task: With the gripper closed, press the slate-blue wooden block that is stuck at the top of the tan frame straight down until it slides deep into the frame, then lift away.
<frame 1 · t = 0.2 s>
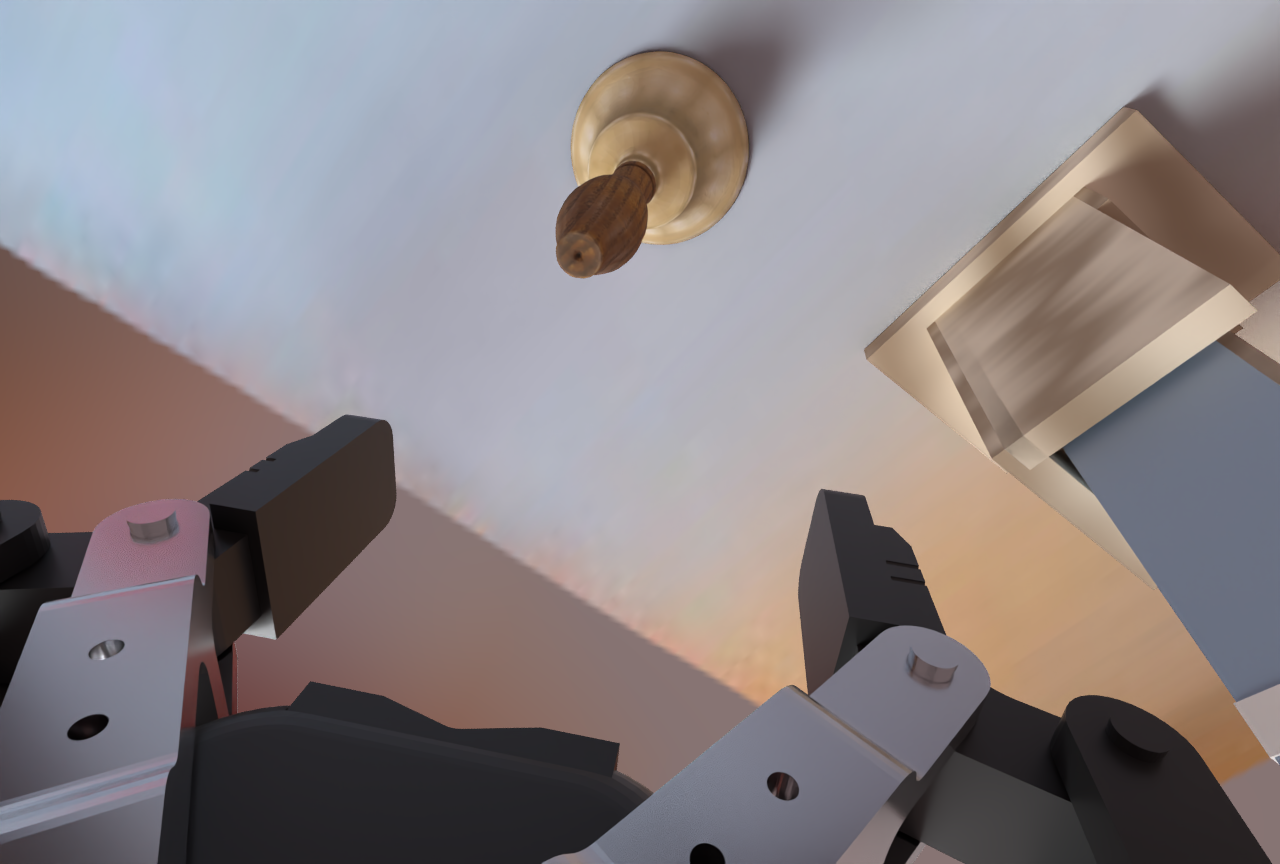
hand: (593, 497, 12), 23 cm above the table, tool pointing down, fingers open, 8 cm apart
hand bell: (659, 153, 31), on the table
tan frame: (1053, 309, 31), on the table
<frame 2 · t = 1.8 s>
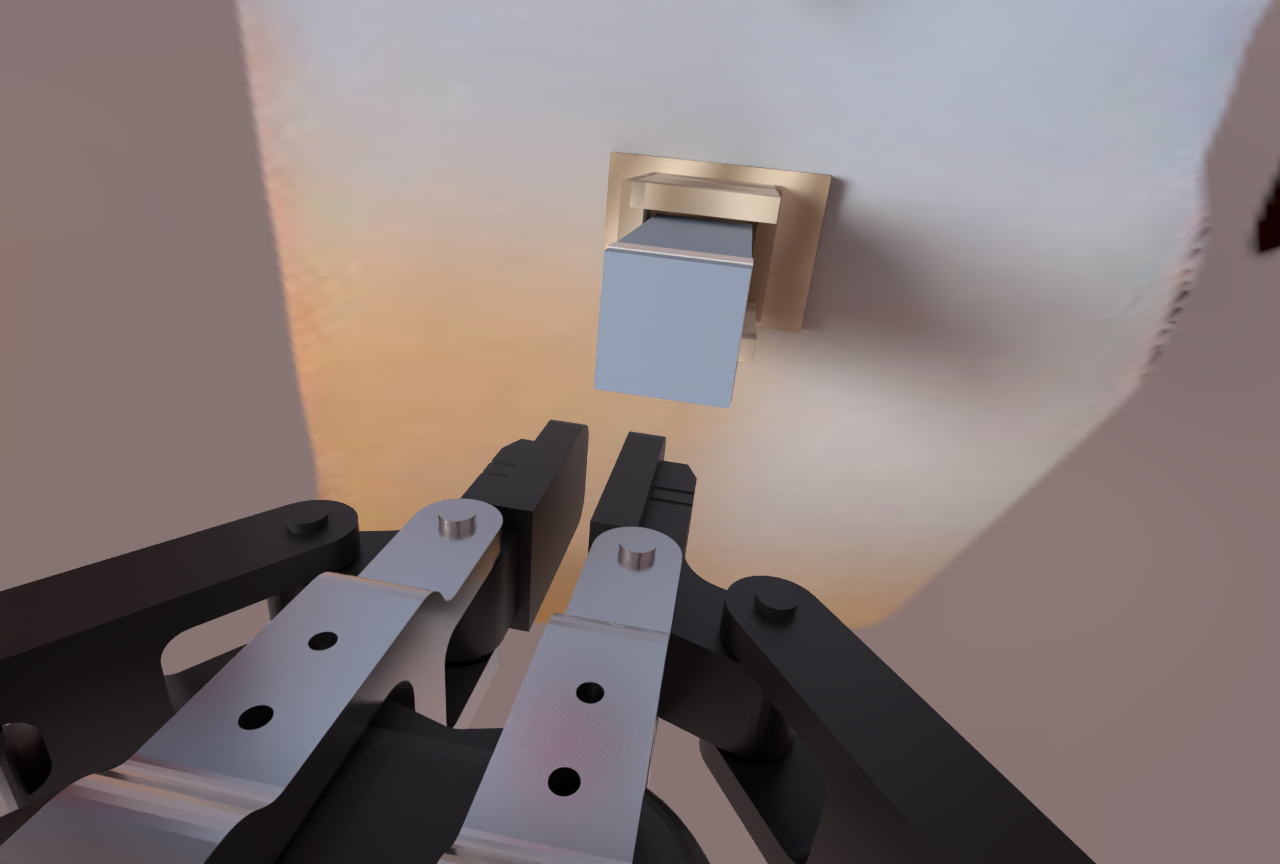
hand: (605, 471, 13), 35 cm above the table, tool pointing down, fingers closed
jammed block: (686, 292, 30), point 17 cm above the table, slide at 0.0 cm
tan frame: (709, 242, 45), on the table
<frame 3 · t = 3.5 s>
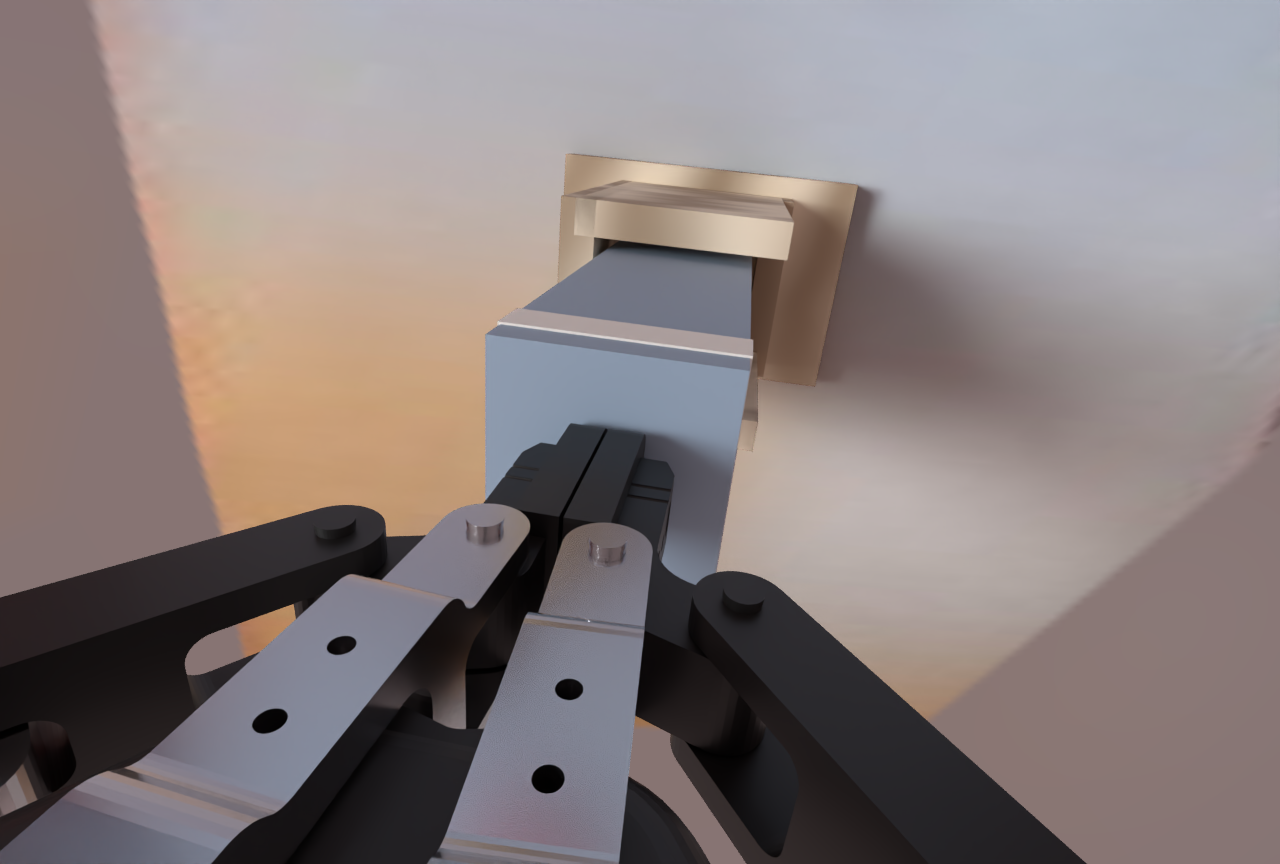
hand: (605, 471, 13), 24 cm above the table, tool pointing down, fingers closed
jammed block: (653, 366, 20), point 17 cm above the table, slide at 0.3 cm, touching gripper
tan frame: (696, 270, 35), on the table
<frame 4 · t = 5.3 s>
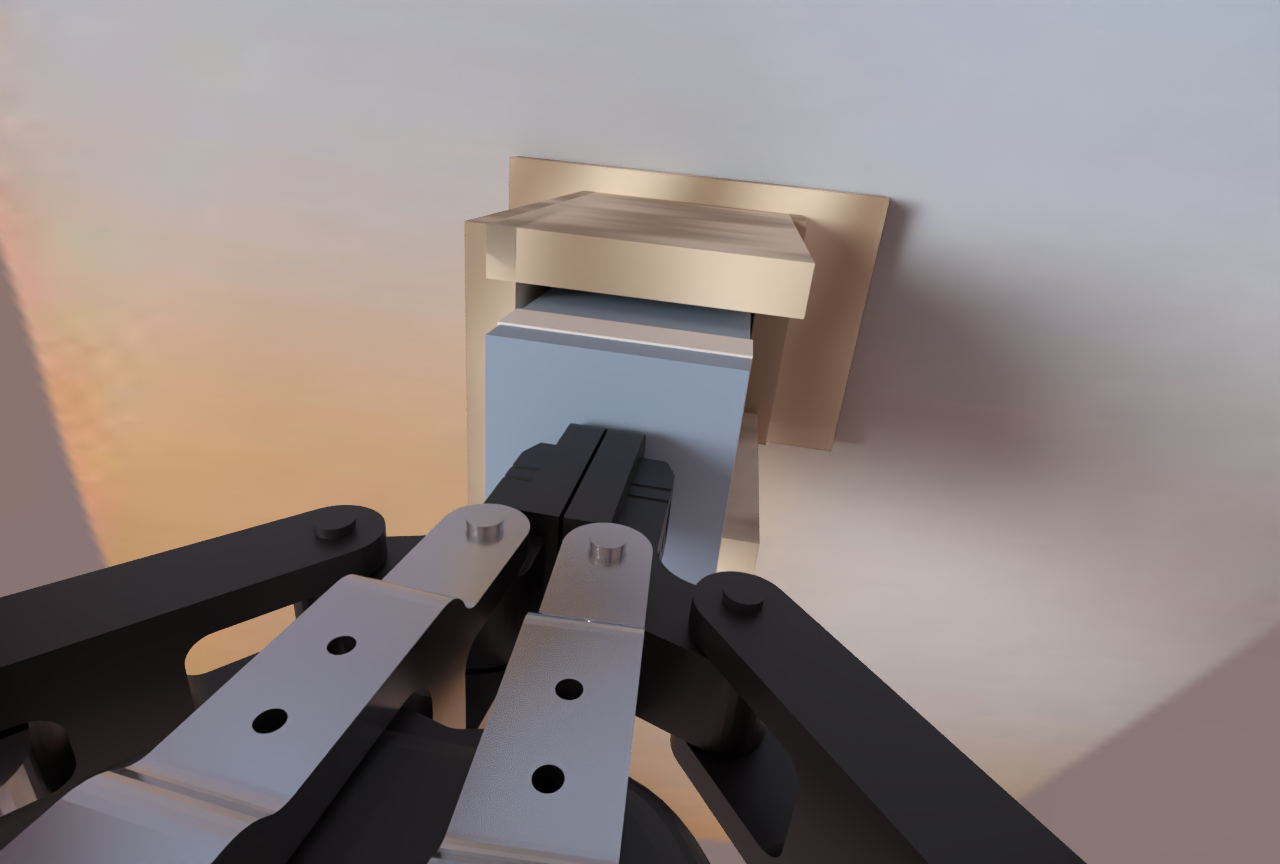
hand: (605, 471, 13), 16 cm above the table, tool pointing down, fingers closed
jammed block: (652, 367, 20), point 9 cm above the table, slide at 8.5 cm, touching gripper
tan frame: (681, 304, 27), on the table
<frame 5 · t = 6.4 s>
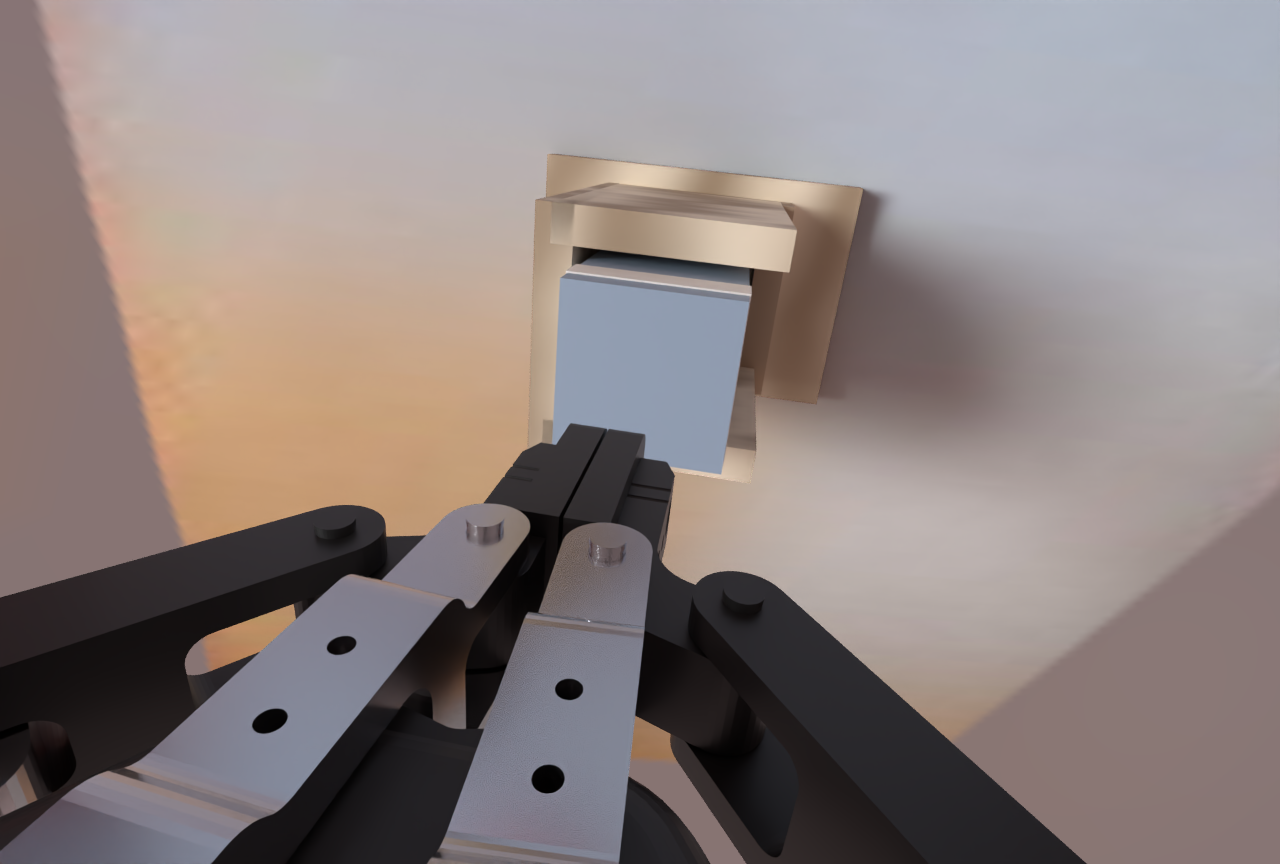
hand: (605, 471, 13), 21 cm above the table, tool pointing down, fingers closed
jammed block: (671, 320, 25), point 9 cm above the table, slide at 8.5 cm
tan frame: (689, 279, 32), on the table
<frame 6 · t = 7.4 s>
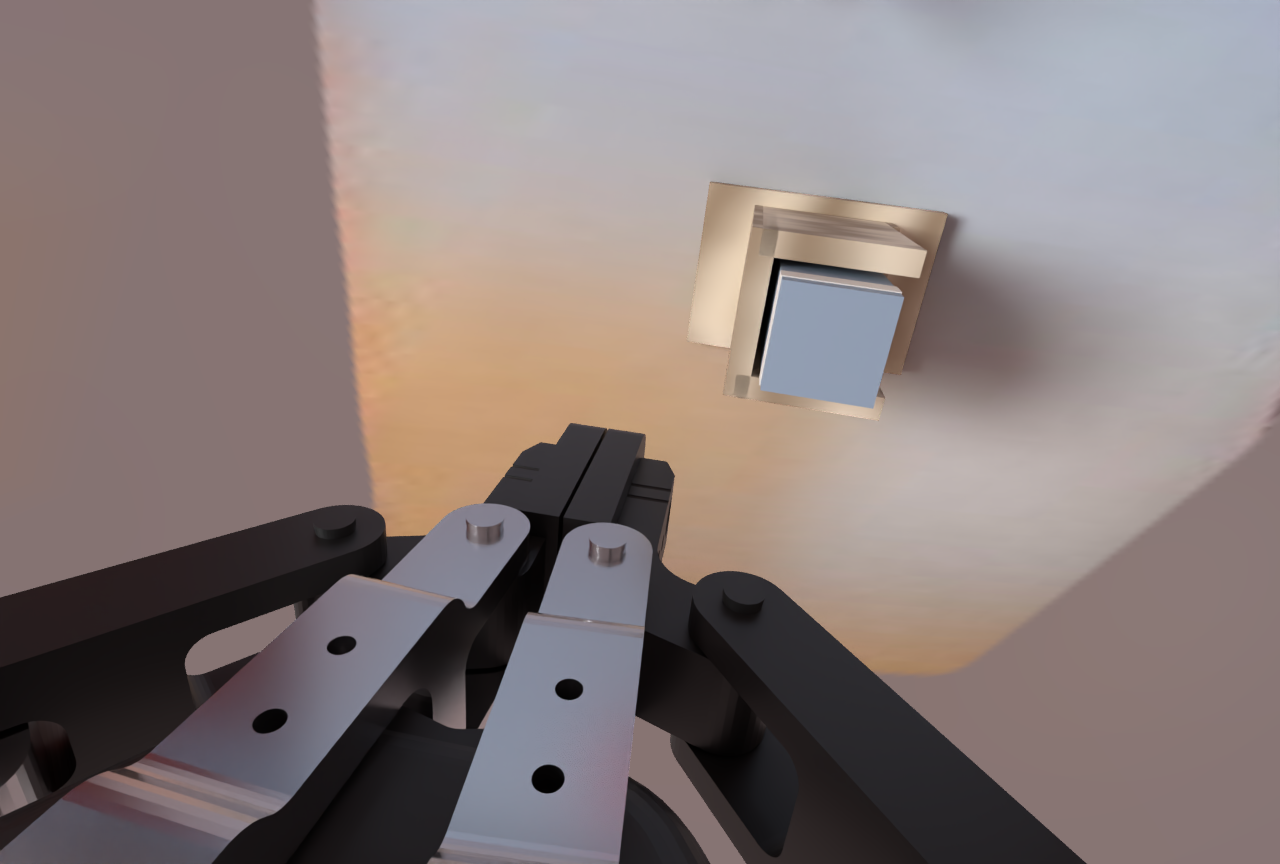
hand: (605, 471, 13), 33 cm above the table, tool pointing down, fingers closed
jammed block: (817, 308, 35), point 9 cm above the table, slide at 8.5 cm
tan frame: (807, 278, 43), on the table
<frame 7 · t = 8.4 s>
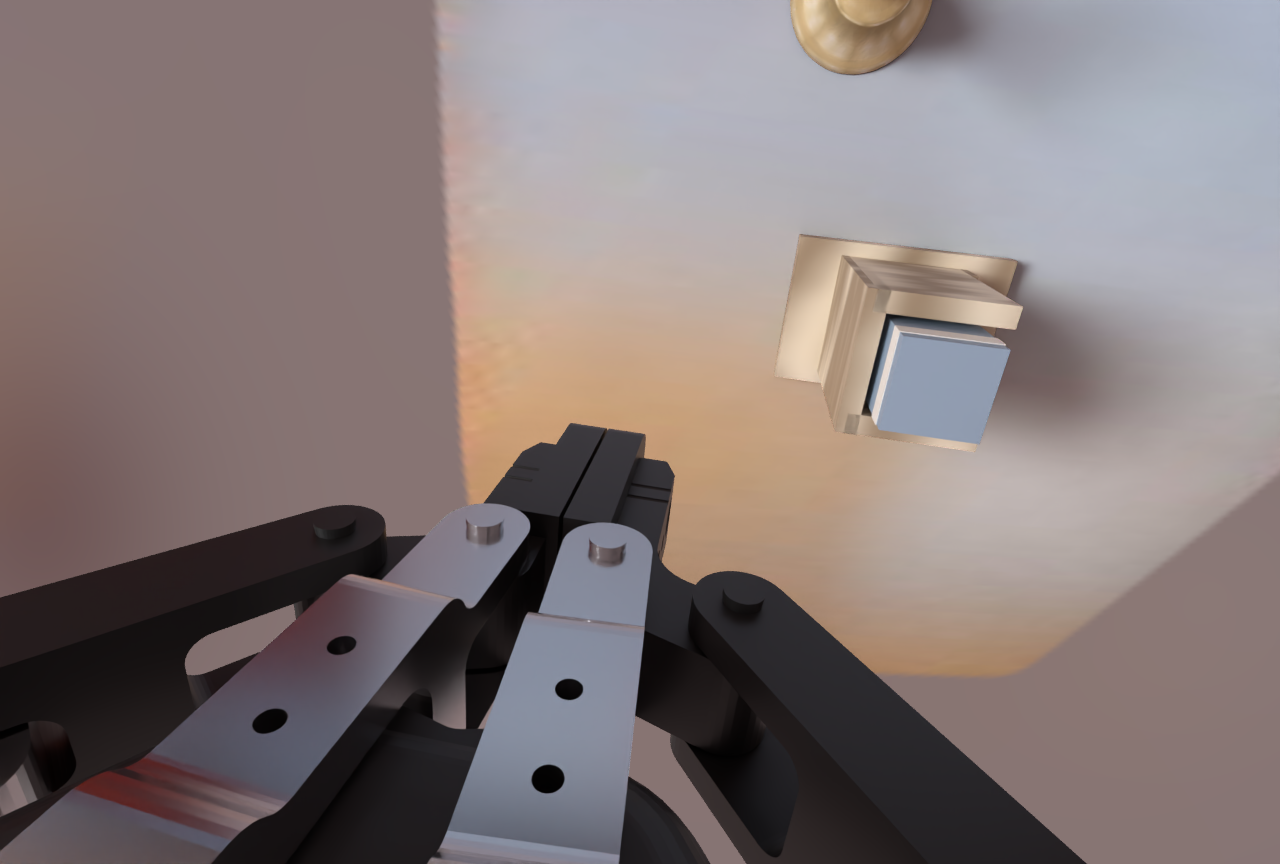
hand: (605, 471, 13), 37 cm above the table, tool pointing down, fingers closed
jammed block: (911, 352, 40), point 9 cm above the table, slide at 8.5 cm
tan frame: (885, 318, 47), on the table
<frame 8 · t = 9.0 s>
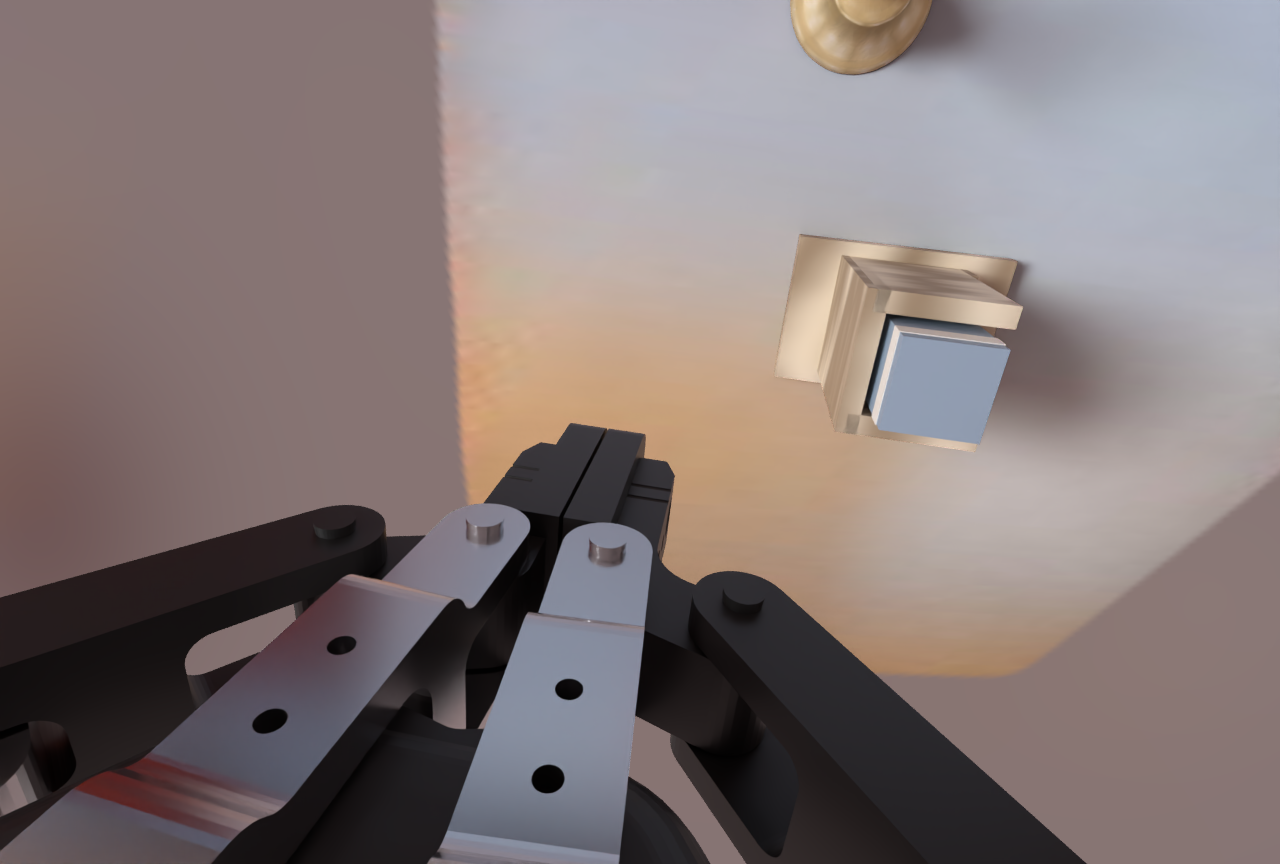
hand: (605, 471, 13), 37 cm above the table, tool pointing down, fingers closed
jammed block: (911, 352, 40), point 9 cm above the table, slide at 8.5 cm
tan frame: (885, 318, 47), on the table
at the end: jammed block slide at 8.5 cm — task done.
